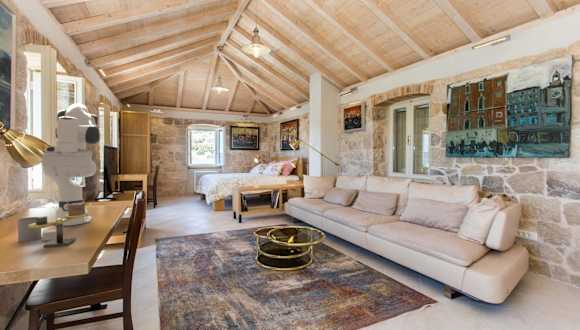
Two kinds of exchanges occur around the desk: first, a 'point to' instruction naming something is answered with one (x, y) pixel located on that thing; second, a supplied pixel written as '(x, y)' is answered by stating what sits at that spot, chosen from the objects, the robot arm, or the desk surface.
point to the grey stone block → (49, 235)
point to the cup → (28, 230)
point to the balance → (42, 223)
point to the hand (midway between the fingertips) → (68, 176)
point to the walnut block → (76, 209)
